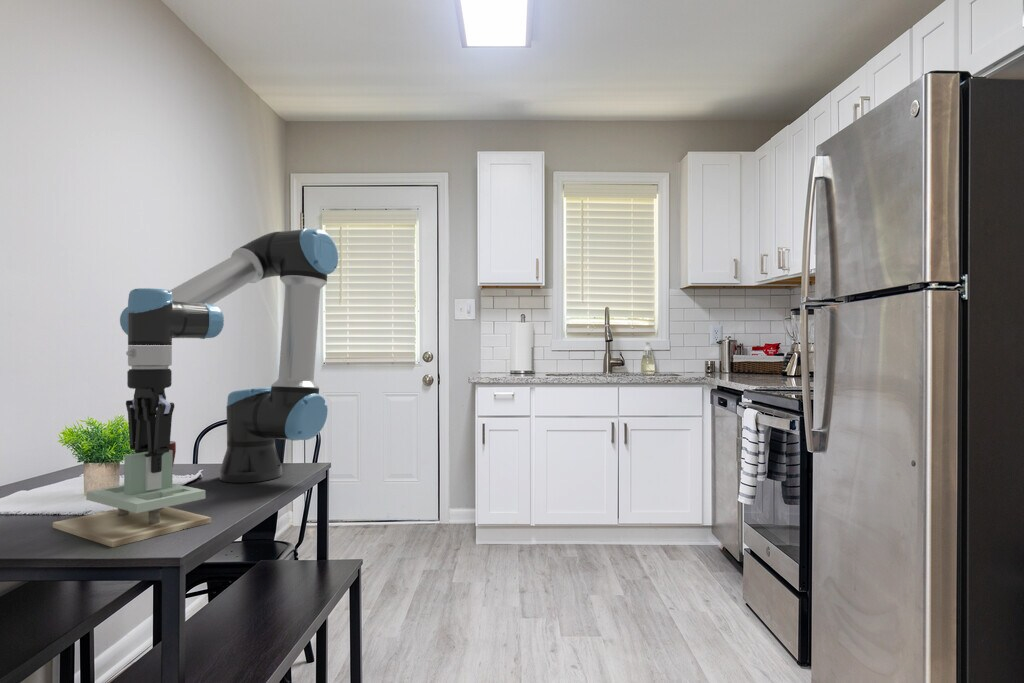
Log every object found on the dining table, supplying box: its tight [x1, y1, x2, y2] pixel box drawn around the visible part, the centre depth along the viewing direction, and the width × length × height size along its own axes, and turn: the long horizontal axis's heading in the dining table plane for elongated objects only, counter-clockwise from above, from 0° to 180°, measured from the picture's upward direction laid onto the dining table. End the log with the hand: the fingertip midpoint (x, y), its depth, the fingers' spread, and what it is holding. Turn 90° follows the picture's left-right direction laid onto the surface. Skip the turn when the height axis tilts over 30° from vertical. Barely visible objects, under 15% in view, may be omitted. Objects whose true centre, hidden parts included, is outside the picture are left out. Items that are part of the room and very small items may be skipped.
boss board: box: [52, 506, 212, 548], centre depth 122 cm, size 18×22×5 cm
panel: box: [85, 450, 206, 513], centre depth 124 cm, size 13×18×9 cm
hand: (149, 487), depth 124 cm, fingers closed on panel, 2 cm apart
